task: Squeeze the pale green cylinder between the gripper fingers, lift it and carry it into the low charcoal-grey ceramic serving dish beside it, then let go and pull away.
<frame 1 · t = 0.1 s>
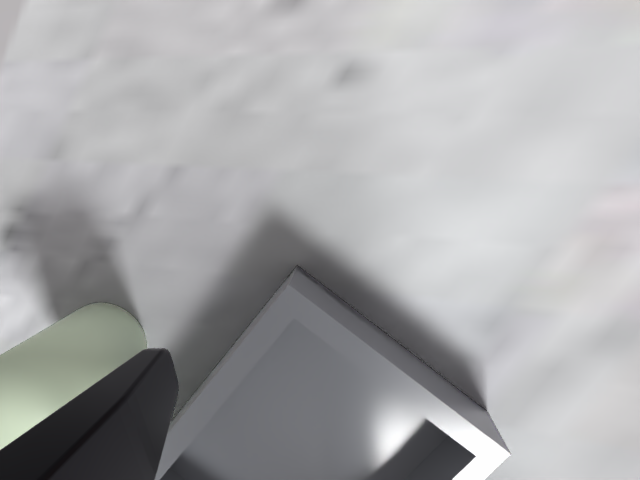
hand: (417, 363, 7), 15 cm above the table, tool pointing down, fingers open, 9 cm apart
pale green cylinder: (105, 342, 25), on the table
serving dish: (308, 434, 25), on the table
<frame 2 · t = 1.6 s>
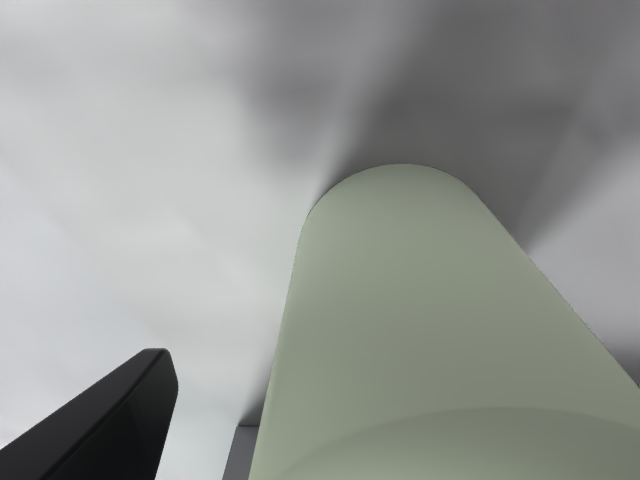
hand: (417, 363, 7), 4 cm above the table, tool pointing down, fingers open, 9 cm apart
pale green cylinder: (395, 259, 11), on the table
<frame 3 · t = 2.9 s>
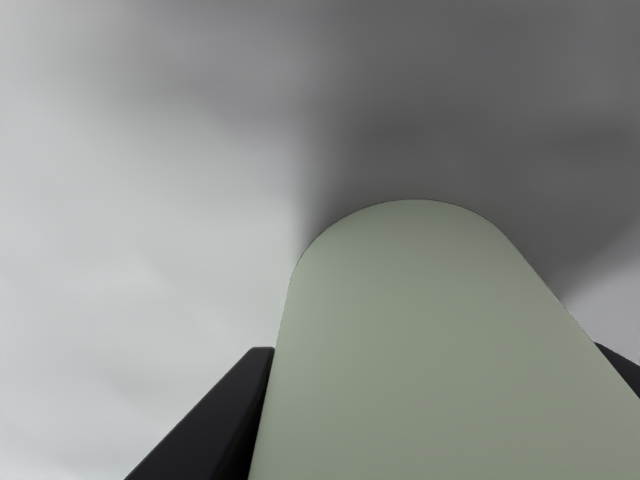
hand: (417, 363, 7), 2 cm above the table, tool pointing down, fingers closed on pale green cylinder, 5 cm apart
pale green cylinder: (405, 311, 9), on the table, touching gripper
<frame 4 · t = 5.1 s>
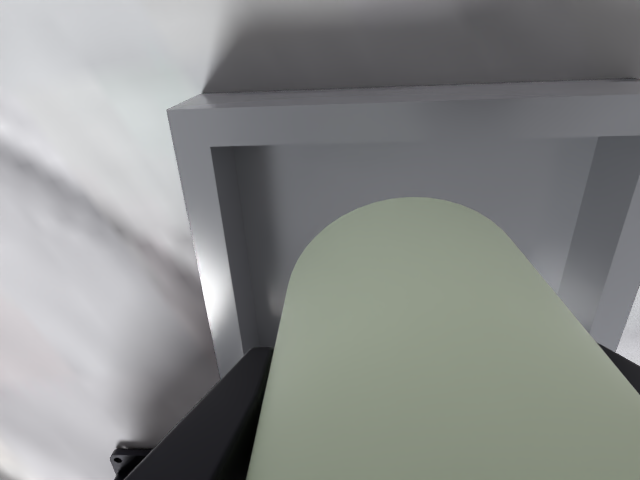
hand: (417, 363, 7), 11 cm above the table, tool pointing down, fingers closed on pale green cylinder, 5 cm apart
pale green cylinder: (405, 309, 9), point 9 cm above the table, touching gripper
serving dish: (401, 250, 19), on the table
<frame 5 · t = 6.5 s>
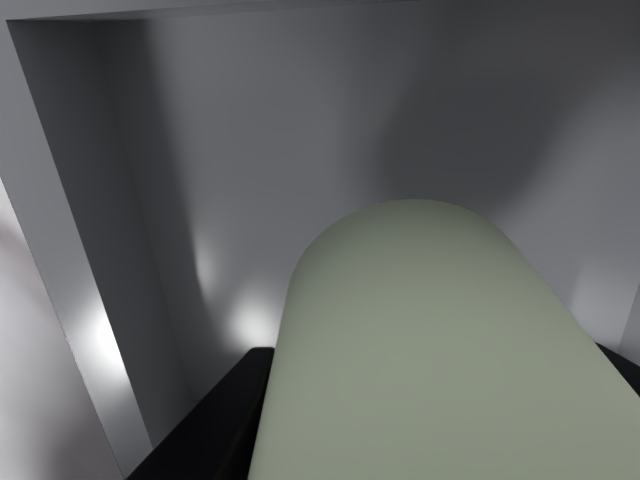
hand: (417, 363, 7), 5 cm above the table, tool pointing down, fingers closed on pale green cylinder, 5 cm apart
pale green cylinder: (405, 311, 9), point 4 cm above the table, touching gripper
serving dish: (390, 232, 12), on the table
when the fingers open (3 cm above the table, at t = 7.7 s): pale green cylinder drops 1 cm, resting on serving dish.
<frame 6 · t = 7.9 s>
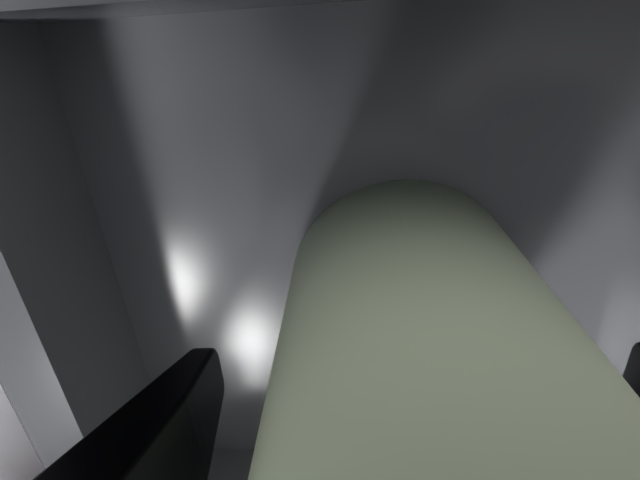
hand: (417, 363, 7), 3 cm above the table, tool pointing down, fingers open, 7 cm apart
pale green cylinder: (399, 281, 10), point 1 cm above the table, touching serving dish
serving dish: (396, 265, 11), on the table
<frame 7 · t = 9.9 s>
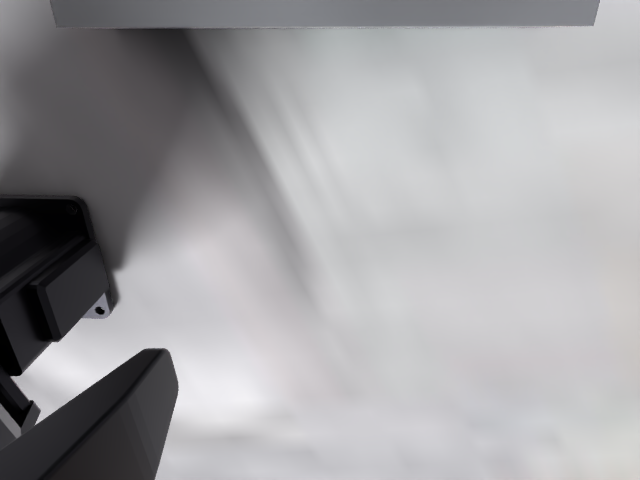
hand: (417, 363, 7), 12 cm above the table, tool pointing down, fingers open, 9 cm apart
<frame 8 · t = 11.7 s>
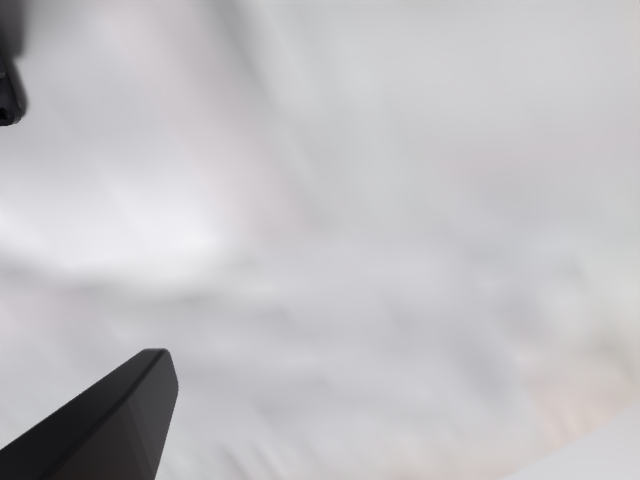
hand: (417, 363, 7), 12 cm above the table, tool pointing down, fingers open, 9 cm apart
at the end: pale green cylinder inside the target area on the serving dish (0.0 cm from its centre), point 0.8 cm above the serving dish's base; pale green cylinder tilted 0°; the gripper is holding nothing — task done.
